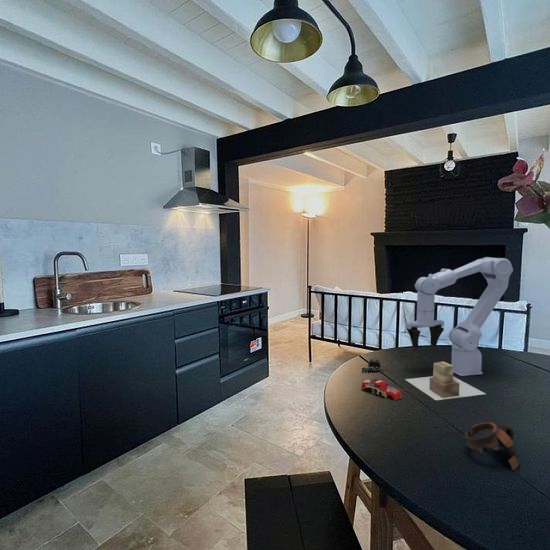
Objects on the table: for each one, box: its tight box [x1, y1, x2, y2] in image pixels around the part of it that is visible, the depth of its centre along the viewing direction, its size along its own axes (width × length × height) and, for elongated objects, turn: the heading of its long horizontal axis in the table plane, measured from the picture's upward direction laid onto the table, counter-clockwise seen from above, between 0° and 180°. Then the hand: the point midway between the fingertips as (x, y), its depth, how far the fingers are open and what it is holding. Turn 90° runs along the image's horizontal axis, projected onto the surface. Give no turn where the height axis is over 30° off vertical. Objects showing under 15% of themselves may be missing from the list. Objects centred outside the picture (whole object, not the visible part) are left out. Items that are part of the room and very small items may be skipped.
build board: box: [404, 375, 486, 401], centre depth 111 cm, size 18×16×1 cm
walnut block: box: [429, 376, 460, 398], centre depth 106 cm, size 6×6×4 cm
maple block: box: [432, 361, 454, 383], centre depth 106 cm, size 4×4×5 cm
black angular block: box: [361, 358, 386, 374], centre depth 125 cm, size 12×7×5 cm, turn 75°
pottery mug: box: [464, 421, 520, 471], centre depth 76 cm, size 12×10×8 cm
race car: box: [361, 378, 403, 401], centre depth 107 cm, size 13×6×4 cm, turn 43°
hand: (424, 346), depth 123 cm, fingers open, 7 cm apart
